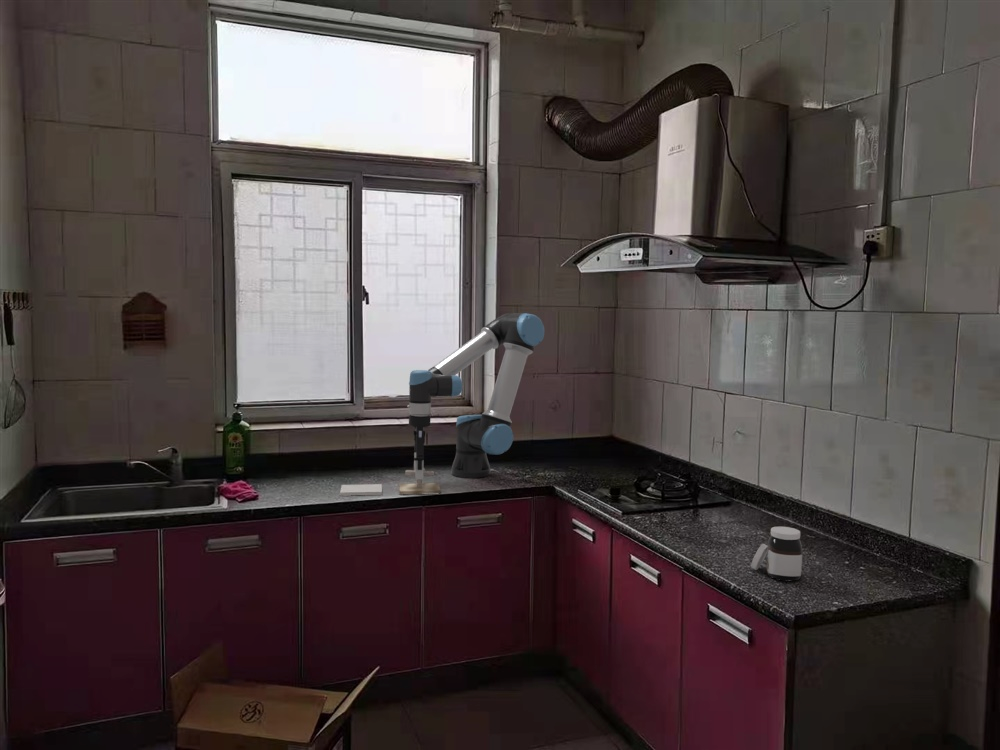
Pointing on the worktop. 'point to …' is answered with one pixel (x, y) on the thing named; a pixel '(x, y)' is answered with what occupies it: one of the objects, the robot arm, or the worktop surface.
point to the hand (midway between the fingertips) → (418, 474)
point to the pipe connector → (419, 481)
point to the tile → (361, 489)
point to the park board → (414, 490)
